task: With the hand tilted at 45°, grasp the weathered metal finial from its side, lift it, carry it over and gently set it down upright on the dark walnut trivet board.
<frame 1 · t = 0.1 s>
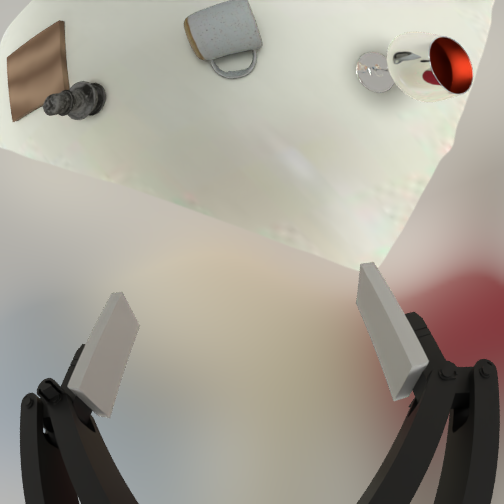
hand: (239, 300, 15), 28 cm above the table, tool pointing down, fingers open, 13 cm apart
walnut trivet board: (37, 71, 27), on the table
weathered metal finial: (92, 99, 32), on the table
ceramic mug: (231, 43, 29), on the table
wineglass: (375, 71, 30), on the table
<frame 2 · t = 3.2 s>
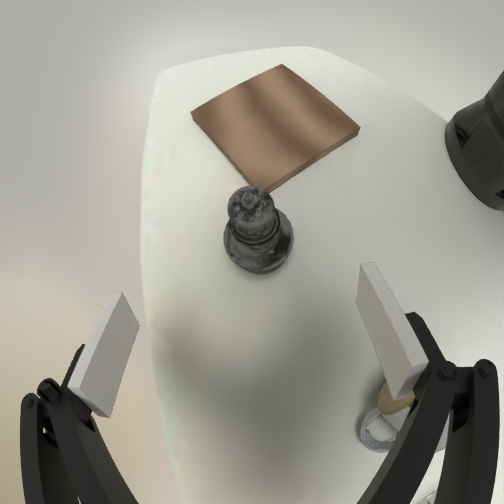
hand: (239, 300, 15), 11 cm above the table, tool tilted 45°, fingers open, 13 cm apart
walnut trivet board: (273, 122, 30), on the table
weathered metal finial: (260, 247, 27), on the table
ceramic mug: (401, 404, 22), on the table
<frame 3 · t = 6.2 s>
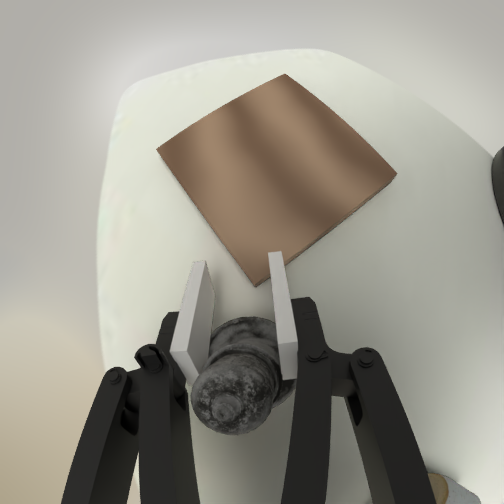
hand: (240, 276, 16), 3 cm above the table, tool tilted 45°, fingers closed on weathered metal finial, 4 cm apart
walnut trivet board: (274, 164, 22), on the table
weathered metal finial: (255, 357, 19), on the table, touching gripper
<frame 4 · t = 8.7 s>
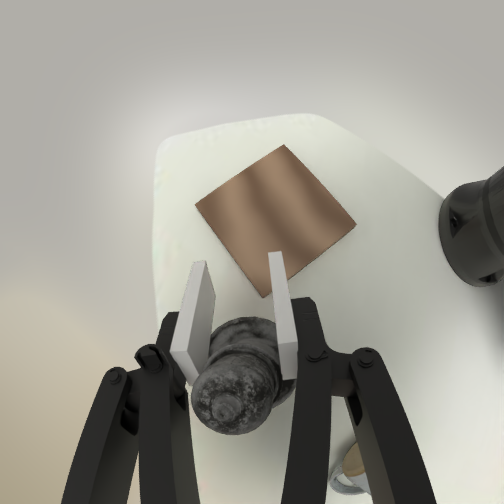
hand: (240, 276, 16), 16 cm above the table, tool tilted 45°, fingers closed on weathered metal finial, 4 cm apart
walnut trivet board: (274, 217, 34), on the table
weathered metal finial: (255, 357, 19), point 12 cm above the table, touching gripper
ceramic mug: (365, 460, 26), on the table
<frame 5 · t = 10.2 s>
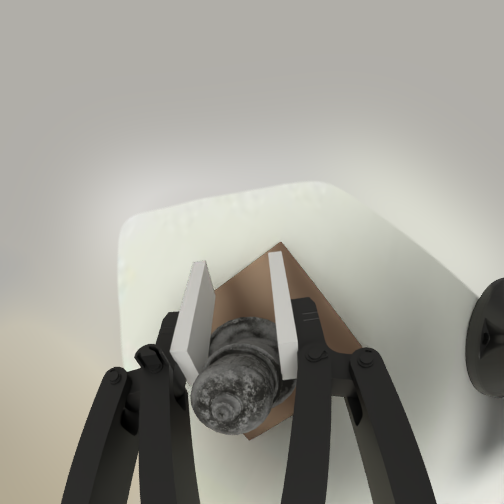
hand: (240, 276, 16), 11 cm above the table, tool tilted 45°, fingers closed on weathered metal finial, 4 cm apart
walnut trivet board: (266, 345, 26), on the table
weathered metal finial: (254, 357, 19), point 7 cm above the table, touching gripper
when the fingers open (6 cm above the table, at t = 11.4 s): weathered metal finial stays where it is, resting on walnut trivet board.
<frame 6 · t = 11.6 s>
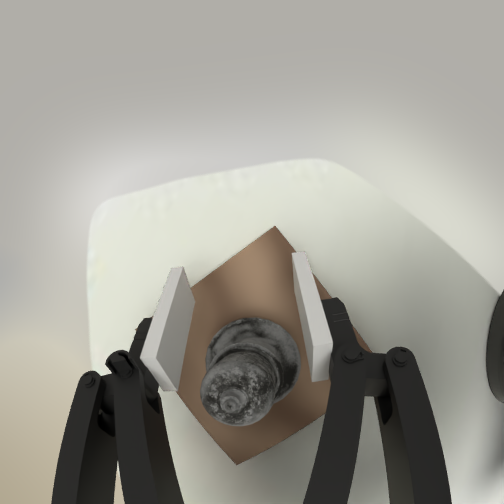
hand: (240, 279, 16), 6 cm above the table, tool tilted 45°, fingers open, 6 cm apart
walnut trivet board: (257, 352, 21), on the table
weathered metal finial: (256, 355, 20), point 1 cm above the table, touching walnut trivet board
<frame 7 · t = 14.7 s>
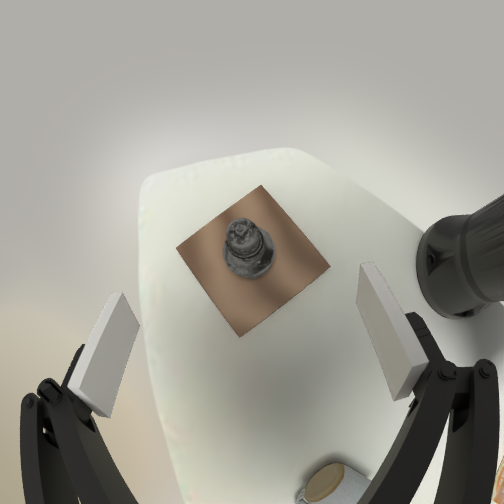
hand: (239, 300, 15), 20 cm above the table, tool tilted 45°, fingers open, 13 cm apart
walnut trivet board: (251, 259, 36), on the table
weathered metal finial: (251, 257, 34), point 1 cm above the table, touching walnut trivet board
ceramic mug: (330, 485, 28), on the table
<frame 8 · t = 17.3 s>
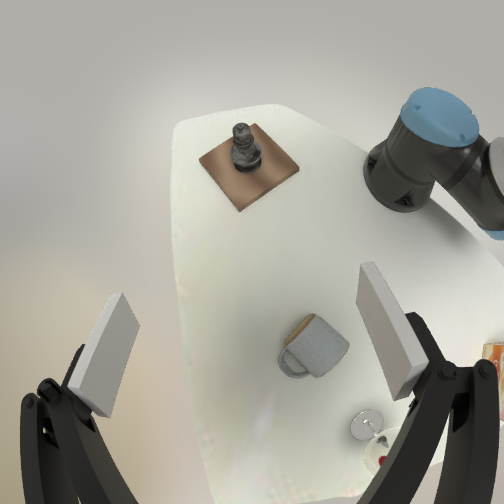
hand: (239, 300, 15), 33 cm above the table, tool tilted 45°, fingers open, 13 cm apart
coffeecake box: (487, 375, 38), on the table
walnut trivet board: (248, 165, 53), on the table
weathered metal finial: (247, 162, 51), point 1 cm above the table, touching walnut trivet board
ceramic mug: (308, 349, 44), on the table
wineglass: (366, 424, 40), on the table
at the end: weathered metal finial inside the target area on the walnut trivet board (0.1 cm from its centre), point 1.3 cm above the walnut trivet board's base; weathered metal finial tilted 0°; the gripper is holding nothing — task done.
